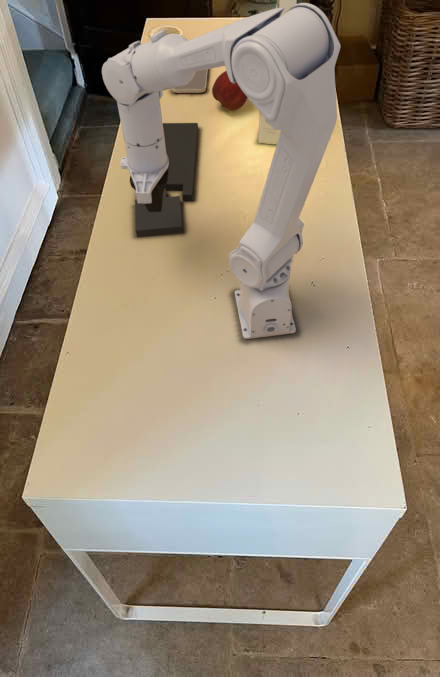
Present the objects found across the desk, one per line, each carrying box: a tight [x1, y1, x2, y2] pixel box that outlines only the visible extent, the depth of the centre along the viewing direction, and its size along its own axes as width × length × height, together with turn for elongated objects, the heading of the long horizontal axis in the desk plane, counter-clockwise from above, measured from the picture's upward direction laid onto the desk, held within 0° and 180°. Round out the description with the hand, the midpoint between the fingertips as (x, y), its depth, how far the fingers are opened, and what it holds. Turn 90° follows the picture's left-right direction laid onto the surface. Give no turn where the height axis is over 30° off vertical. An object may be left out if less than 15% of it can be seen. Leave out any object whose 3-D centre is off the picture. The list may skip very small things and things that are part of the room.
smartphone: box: [171, 69, 209, 94], centre depth 134 cm, size 7×1×15 cm
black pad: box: [163, 122, 199, 202], centre depth 115 cm, size 22×10×2 cm, turn 179°
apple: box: [211, 70, 249, 111], centre depth 123 cm, size 7×8×8 cm
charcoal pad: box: [134, 187, 184, 238], centre depth 107 cm, size 11×8×2 cm
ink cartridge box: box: [258, 111, 281, 145], centre depth 115 cm, size 9×5×15 cm, turn 168°
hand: (155, 209), depth 96 cm, fingers closed
